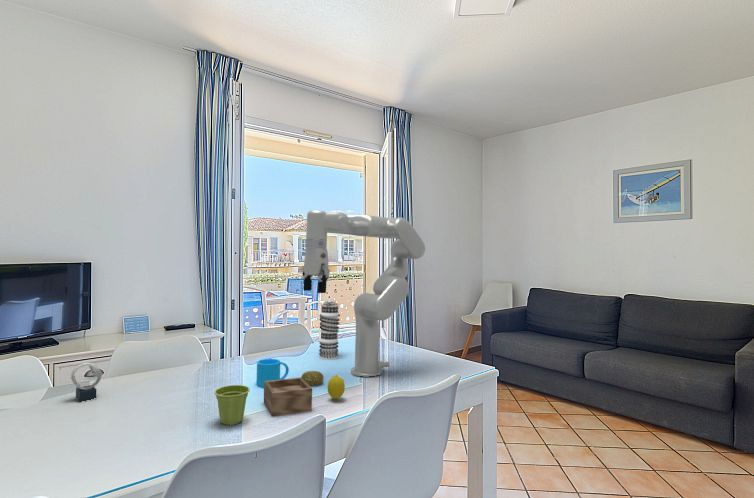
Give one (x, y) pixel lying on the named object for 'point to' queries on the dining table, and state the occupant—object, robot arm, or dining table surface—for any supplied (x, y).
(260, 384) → the mug
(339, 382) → the lemon
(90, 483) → the dining table surface
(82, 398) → the watch
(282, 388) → the walnut box
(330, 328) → the decorative candle
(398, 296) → the robot arm
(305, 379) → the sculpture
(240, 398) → the plant pot
